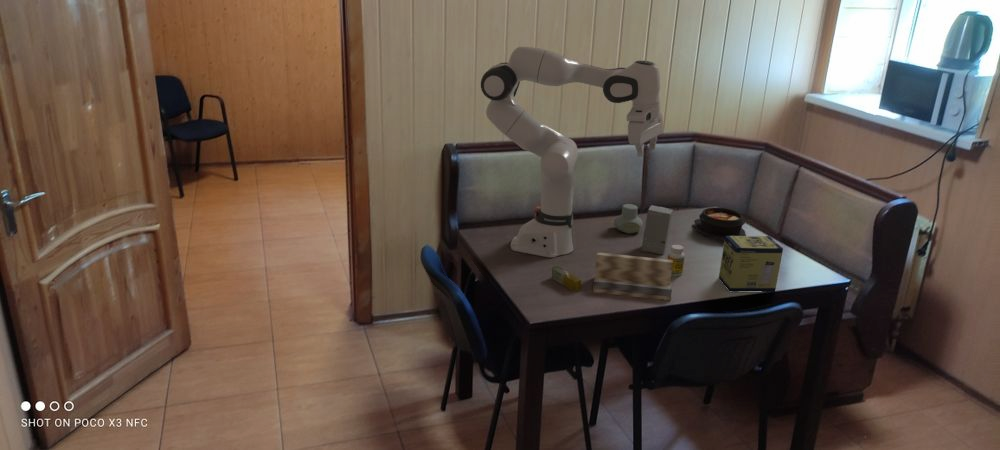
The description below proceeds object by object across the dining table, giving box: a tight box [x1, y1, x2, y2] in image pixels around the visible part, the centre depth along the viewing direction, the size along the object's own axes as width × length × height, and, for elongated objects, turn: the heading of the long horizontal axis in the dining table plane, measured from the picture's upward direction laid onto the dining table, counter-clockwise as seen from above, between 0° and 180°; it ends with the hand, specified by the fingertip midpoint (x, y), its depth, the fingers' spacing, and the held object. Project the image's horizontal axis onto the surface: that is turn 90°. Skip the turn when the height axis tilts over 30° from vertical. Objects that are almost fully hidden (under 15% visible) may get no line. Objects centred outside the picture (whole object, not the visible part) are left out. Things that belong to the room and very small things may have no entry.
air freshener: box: [613, 203, 644, 235], centre depth 277 cm, size 11×8×10 cm
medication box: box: [551, 265, 582, 293], centre depth 231 cm, size 12×3×4 cm, turn 34°
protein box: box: [718, 235, 784, 293], centre depth 234 cm, size 10×16×16 cm
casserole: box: [693, 207, 747, 242], centre depth 278 cm, size 25×19×8 cm
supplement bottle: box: [667, 244, 686, 277], centre depth 241 cm, size 5×5×10 cm
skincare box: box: [641, 204, 674, 255], centre depth 259 cm, size 8×7×16 cm
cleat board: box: [592, 251, 673, 301], centre depth 229 cm, size 24×11×9 cm, turn 80°
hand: (646, 152), depth 240 cm, fingers open, 8 cm apart
